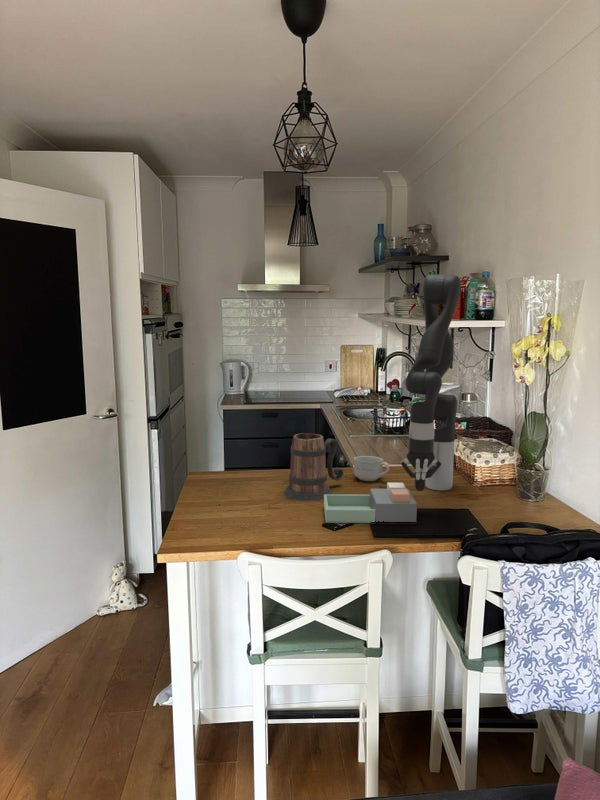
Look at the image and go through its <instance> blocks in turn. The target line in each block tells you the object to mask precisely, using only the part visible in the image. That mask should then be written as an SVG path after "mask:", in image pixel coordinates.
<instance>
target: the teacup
mask: <svg viewBox="0 0 600 800" xmlns="http://www.w3.org/2000/svg"><path fill="white" fill-rule="evenodd" d="M384 466H385V467H386V468H385V470H384V471H383V467H384ZM389 471H390V464H389V463H388V462H387V461H384V459H383V458H381V457H379V456H374V455H373V456H371V455H361V456H355V457H353V473H354V475H355V477H357V478H358V479H359V480H360V481H364V482H374V481H375V482H376V481H377V480H379V478H381V477H383V475H385V474H387V473H389Z"/></svg>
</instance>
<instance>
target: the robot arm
mask: <svg viewBox="0 0 600 800" xmlns="http://www.w3.org/2000/svg"><path fill="white" fill-rule="evenodd" d="M422 287H423V288H422V295H423V297H422V298H423V308H424V325H425V327H424V328H425V329H424V330H425V331H424V333H423V334H422V335H421V336H422V337H421V339H420V343H419V347H418V352H417V354H416V355H417V356H416V358H415V360H414V362H413V364H412V367H411V368H410V370H409V371H408V373H407V376H406V379H405V388H406V390H407V392H408V393H410V394H414V395H422V396H423V395H424V400H422V401H419V400H418V401H415V402H412V403H411V406H410V421H409V431H408V452H407V454H406V458H404V459H402V460H400V461H399V463H400V465H401V467H402V468H403V469H404V470H405V472H406V473H407V474H408V476H409V477H410V478H411V479H414V489H415V490H416V491H417V492H423V490H425V488H427V489H429V490H434V491H449V490H452V489H453V480H454V479H453V477H454V458H455V455H454V454H455V438H456V433H455V432H456V420H457V419H456V418H457V412H458V411H457V410H458V400H457V397H456V395H454V394H446V393H445V394H444V393H443V394H442V393H440V391H441V389H442V383H443V382H442V381H443V380H442V378H443V377H444V376H445V374H446V373H447V372H448V371H449V369H450V367H452V364H453V362H454V354H455V353H454V352H455V351H454V349H455V348H454V347H455V345H454V340H453V337H452V335H451V333H450V332H449V327H450V325H451V322H452V320H453V317H454V315H455V311H456V309H457V308H456V307H457V306H458V303H459V299H460V297H461V287H462V284H461V279H460V277H459V276H458V275H455V274H441V273H440V274H434V273H433V274H428V275H426V277H425V278H424V280H423V285H422ZM437 305H444V306H443V308H442V310H441V313H440V314H439V312H438V307H437ZM435 421H438V422H439V421H441V422H445V424H444V425H441V426H440V427H437V428H435ZM409 463H410V465H411V466H412V467H413V472H412V470H411V468H410V467H409Z"/></svg>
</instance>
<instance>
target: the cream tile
mask: <svg viewBox="0 0 600 800" xmlns="http://www.w3.org/2000/svg"><path fill="white" fill-rule="evenodd" d="M386 489H387V492H388V494H389V495H390V489H407V487H406V486H405V484H404V482H386Z"/></svg>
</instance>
